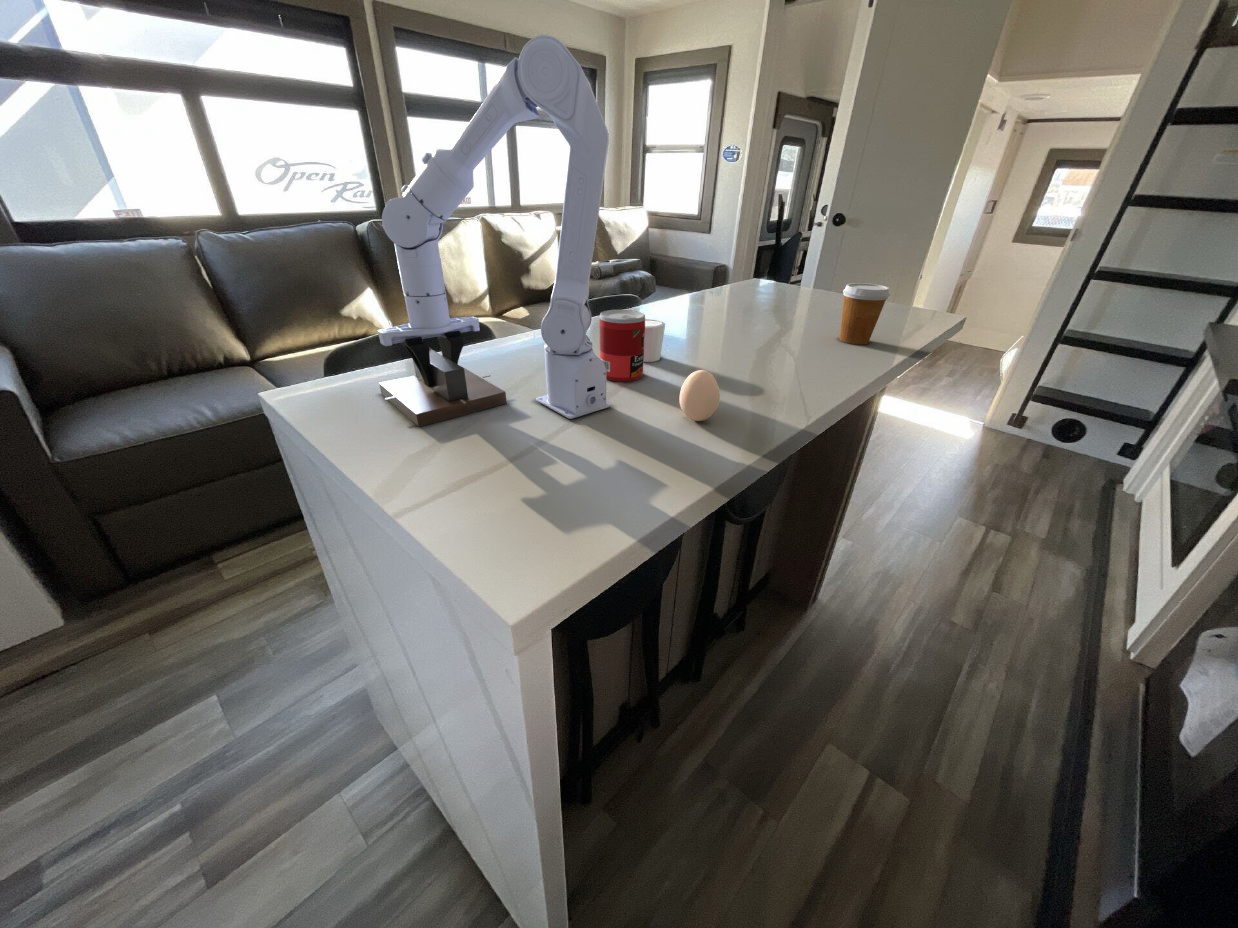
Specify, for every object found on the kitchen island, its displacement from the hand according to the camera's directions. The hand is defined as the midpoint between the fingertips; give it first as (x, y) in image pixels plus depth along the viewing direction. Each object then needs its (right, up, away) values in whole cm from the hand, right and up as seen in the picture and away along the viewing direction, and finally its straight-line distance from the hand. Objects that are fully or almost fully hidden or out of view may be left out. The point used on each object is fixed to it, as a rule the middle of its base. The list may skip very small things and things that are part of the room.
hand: (440, 382), depth 77 cm
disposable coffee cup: (+82, +15, +36) cm, 91 cm away
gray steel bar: (0, -1, 0) cm, 1 cm away
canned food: (+29, +3, +13) cm, 31 cm away
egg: (+40, -6, -4) cm, 41 cm away
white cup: (+34, +9, +22) cm, 41 cm away
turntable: (0, -2, +1) cm, 3 cm away
